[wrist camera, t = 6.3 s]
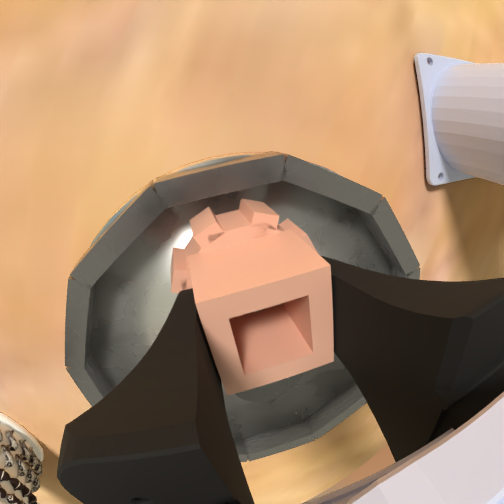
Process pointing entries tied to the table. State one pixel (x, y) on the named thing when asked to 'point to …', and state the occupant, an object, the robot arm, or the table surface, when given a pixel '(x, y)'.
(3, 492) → the decorative candle
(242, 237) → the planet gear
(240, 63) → the table surface
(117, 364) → the plate
